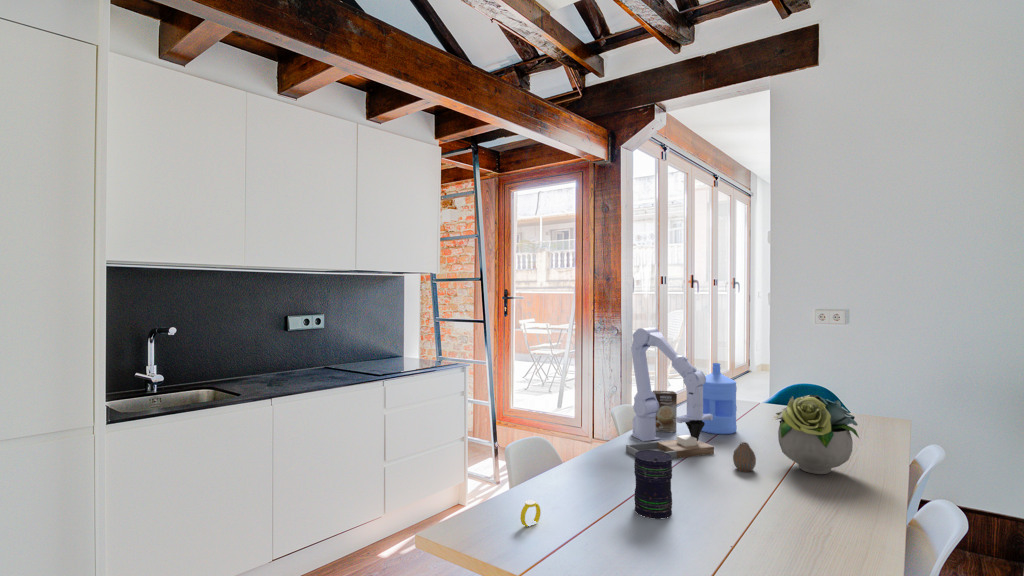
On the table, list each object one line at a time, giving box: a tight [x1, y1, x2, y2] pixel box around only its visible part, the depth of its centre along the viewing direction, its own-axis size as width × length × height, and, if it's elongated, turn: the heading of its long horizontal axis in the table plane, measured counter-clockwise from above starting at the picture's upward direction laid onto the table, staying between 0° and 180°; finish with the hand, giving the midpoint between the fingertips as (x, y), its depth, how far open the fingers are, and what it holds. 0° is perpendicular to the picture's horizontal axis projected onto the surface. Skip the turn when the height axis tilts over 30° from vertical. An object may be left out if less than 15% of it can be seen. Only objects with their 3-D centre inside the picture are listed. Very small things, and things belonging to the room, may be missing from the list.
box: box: [625, 441, 678, 460], centre depth 188 cm, size 12×13×2 cm
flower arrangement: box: [772, 394, 860, 475], centre depth 172 cm, size 25×25×24 cm
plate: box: [657, 439, 715, 459], centre depth 193 cm, size 12×16×2 cm
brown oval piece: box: [732, 441, 757, 473], centre depth 173 cm, size 7×7×9 cm
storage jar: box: [633, 450, 673, 520], centre depth 141 cm, size 10×10×15 cm
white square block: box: [676, 434, 697, 447], centre depth 193 cm, size 5×5×2 cm
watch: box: [520, 499, 542, 527], centre depth 132 cm, size 6×3×6 cm, turn 133°
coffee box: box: [652, 390, 678, 433], centre depth 221 cm, size 9×6×16 cm
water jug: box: [701, 362, 738, 435], centre depth 221 cm, size 16×16×28 cm
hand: (694, 440), depth 194 cm, fingers closed
